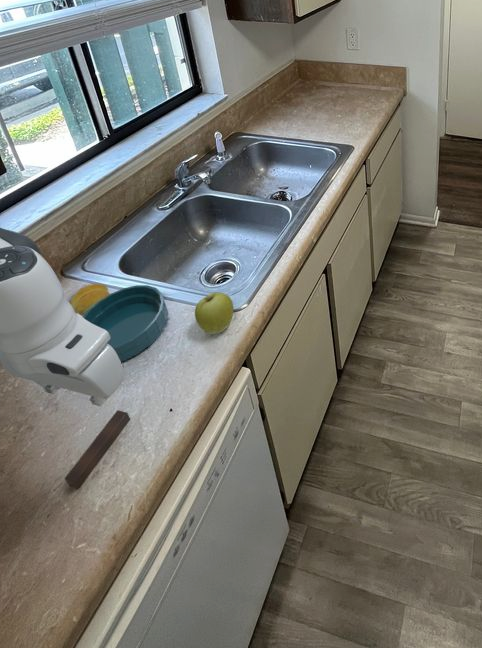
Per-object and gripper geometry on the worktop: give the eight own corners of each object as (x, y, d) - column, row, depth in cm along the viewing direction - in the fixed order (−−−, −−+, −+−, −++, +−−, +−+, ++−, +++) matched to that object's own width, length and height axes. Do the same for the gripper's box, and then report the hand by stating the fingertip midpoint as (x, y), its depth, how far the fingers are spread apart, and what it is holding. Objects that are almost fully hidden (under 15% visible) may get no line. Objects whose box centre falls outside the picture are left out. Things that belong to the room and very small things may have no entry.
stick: (82, 493, 73) (75, 482, 71) (71, 489, 73) (64, 478, 72) (132, 423, 83) (127, 412, 81) (123, 421, 83) (117, 409, 82)
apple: (239, 330, 99) (217, 303, 94) (206, 345, 98) (181, 319, 94) (242, 302, 106) (221, 276, 101) (211, 316, 105) (188, 290, 101)
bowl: (71, 377, 91) (62, 361, 89) (96, 310, 106) (89, 296, 104) (162, 352, 96) (156, 337, 94) (173, 292, 110) (168, 277, 108)
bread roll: (105, 284, 113) (101, 273, 111) (114, 305, 107) (109, 293, 105) (67, 303, 108) (61, 291, 106) (75, 326, 102) (69, 314, 100)
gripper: (-30, 345, 65) (9, 400, 72) (81, 372, 61) (112, 429, 67) (12, 310, 71) (45, 364, 77) (117, 333, 67) (143, 388, 73)
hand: (77, 395), depth 72 cm, fingers open, 8 cm apart
